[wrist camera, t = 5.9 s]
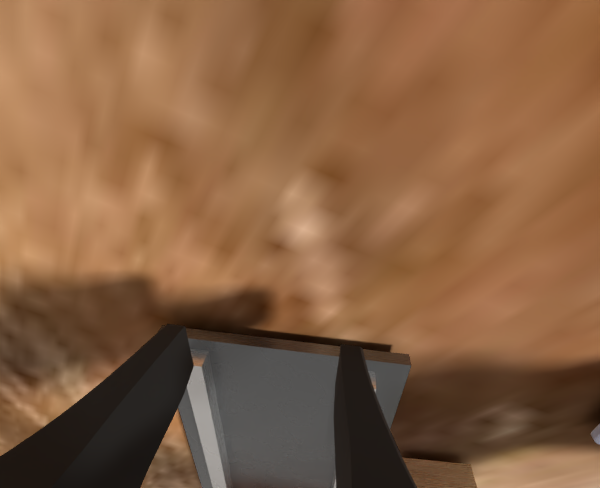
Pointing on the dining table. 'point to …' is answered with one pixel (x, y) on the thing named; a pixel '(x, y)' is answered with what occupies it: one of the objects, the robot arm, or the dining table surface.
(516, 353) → the dining table surface
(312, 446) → the rail guide
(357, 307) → the dining table surface
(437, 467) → the block
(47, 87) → the dining table surface
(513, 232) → the dining table surface
